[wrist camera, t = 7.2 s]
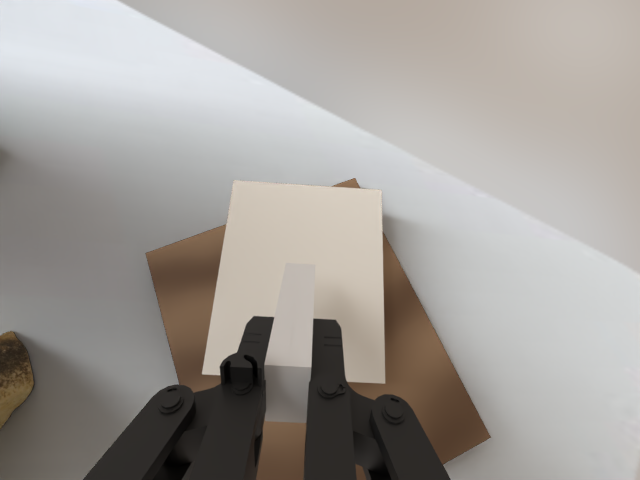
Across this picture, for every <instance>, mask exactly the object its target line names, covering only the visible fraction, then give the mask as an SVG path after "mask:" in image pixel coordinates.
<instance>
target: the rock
mask: <svg viewBox="0 0 640 480" xmlns="http://www.w3.org/2000/svg"><path fill="white" fill-rule="evenodd" d="M33 385H34V381H33V373H32V369H31V365H30V361H29V356H28V353H27V350H26V349H25V347H24V345H23V344H22V343H21V342H20V341H19V340H18V339H17V338H16V336H15V334H14V332H13V331H10V332H6V333H4V334H2V335H1V336H0V429H1V428H2V426H3V425H4V423H5V422H6V421H7V419H8V418H9V417H10V416H11V414H12V412H13V411H14V409H16V408H17V407H19V406H20V405H21V404H22V403H23V402H24V401H25V400H26V398H27V397H28V395H29V394H30V392H31V390H32V388H33Z"/></svg>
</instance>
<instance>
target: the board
mask: <svg viewBox="0 0 640 480" xmlns="http://www.w3.org/2000/svg"><path fill="white" fill-rule="evenodd" d="M331 187H345V188H360V187H359V185H358V183H357V181H356V179H355V178H353V179H351V180H348V181H345V182H342V183H339V184H337V185H334V186H331ZM225 230H226V225H223V226H220V227H217V228H214V229H212V230H209V231H206V232H203V233H201V234H198V235H195V236H192V237H189V238H187V239H184V240H181V241H178V242H175V243H173V244H170V245H167V246H164V247H162V248H159V249H156V250H153V251H150V252H148V253H146V257H147V261H148V265H149V268H150V272H151V276H152V280H153V284H154V288H155V292H156V296H157V299H158V303H159V307H160V311H161V315H162V319H163V323H164V327H165V330H166V334H167V338H168V342H169V346H170V350H171V354H172V357H173V361H174V365H175V369H176V373H177V377H178V381H179V385H185V386H187V387H189V388H191V390H192V391H193V393H194V392H198V391H202V390H207V389H210V388H213V387H215V386H217V385H219V384H221V376H220V375H205V374H202V370H203V364H204V358H205V352H206V346H207V340H208V333H209V327H210V321H211V315H212V309H213V303H214V297H215V291H216V285H217V278H218V272H219V266H220V260H221V254H222V248H223V242H224V236H225ZM382 236H383V288H384V341H385V384H381V383H362V382H347V383H348V385H349V386H350V387H351V388H352V389H353V390H354V391H355V392H357V393H358V394H360V395H362V396H364V397H367V398H370V399H373V400H375V399H376V398H377V397H379V396H381V395H384V394H393V395H395V396H398V397H401V398H402V399H403V400H405V401H406V402H407V403H408V404H409V405H410V407H411V408H412V409H413V411H414V413H415V415H416V417H417V418H418V420H419V422H420V424H421V426H422V428H423V430H424V431H425V433H426V435H427V437H428V439H429V441H430V443H431V444H432V446H433V448H434V450H435V452H436V454H437V455H438V457H439V459H440V461H441V463H442V465H443V464H445V463H446V462H448V461H450V460H452V459H453V458H455V457H457V456H459V455H461V454H462V453H464V452H466V451H468V450H469V449H471V448H473V447H475V446H477V445H478V444H480V443H482V442H484V441H486V440H487V439H489V438H491V437H490V435H489V433H488V431H487V429H486V427H485V425H484V424H483V422H482V420H481V418H480V416H479V414H478V412H477V410H476V408H475V406H474V404H473V403H472V401H471V399H470V397H469V395H468V393H467V391H466V389H465V387H464V385H463V383H462V382H461V380H460V378H459V376H458V374H457V372H456V370H455V368H454V366H453V364H452V362H451V361H450V359H449V357H448V355H447V353H446V351H445V349H444V347H443V345H442V343H441V341H440V340H439V338H438V336H437V334H436V332H435V330H434V328H433V326H432V324H431V322H430V320H429V318H428V317H427V315H426V313H425V311H424V309H423V307H422V305H421V303H420V301H419V299H418V297H417V296H416V294H415V292H414V290H413V288H412V286H411V284H410V282H409V280H408V278H407V276H406V275H405V273H404V271H403V269H402V267H401V265H400V263H399V261H398V259H397V257H396V255H395V254H394V252H393V250H392V248H391V246H390V244H389V242H388V240H387V238H386V236H385V234H384V233H383V231H382ZM305 437H306V423H293V422H273V421H265V419H264V424H263V441H262V447H261V453H260V459H259V465H258V471H257V477H256V480H303V475H304V456H305V453H304V451H305ZM355 465H356V476H357V480H366V477H365V474H364V471H363V467H362V466H359V465H357V464H355Z"/></svg>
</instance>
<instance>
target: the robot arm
mask: <svg viewBox="0 0 640 480" xmlns="http://www.w3.org/2000/svg"><path fill="white" fill-rule="evenodd" d="M314 286H315V265H313V264H296V263H286V265H285V269H284V274H283V279H282V284H281V288H280V293H279V298H278V302H277V307H276V312H275V317H264V316H253V317H252V318H251V319H250V321H249V322H248V323H247V324H246V326H245V330H244V333H243V336H242V339H241V343H240V345H239V348H238V351H237V353H234V354H232V355H229V356H228V357H227V358H225V359H224V360H223V361H222V363H221V365H220V376H221V384H219V385H217V386H215V387H213V388H210V389H207V390H202V391H198V392H194V393H193V391H192V390H191V388H189V387H187V386H185V385H172V386H168V387H166V388H164V389H162V390H160V391H159V392H158V393H157V394H156V395H154V396H153V397H152V398H151V400H150V401H149V402H148V403H147V404H146V406H145V407H144V408H143V409H142V410H141V411H140V413H139V414H138V415H137V416H136V417H135V419H134V420H133V421H132V422H131V423H130V424H129V426H128V427H127V428H126V429H125V430H124V432H123V433H122V434H121V435H120V436H119V437H118V439H117V440H116V441H115V442H114V443H113V445H112V446H111V447H110V448H109V449H108V450H107V452H106V453H105V454H104V455H103V456H102V458H101V459H100V460H99V461H98V462H97V464H96V465H95V466H94V467H93V468H92V469H91V471H90V472H89V473H88V474H87V475H86V477H85V478H84V479H83V480H256V477H257V471H258V465H259V459H260V453H261V447H262V441H263V424H264V419H265V421H273V422H293V423H306V437H305V451H304V453H305V456H304V475H303V480H357V476H356V465H355V464H357V465H359V466H362V467H363V471H364V474H365V477H366V480H450V478H449V476H448V474H447V472H446V470H445V468H444V467H443V465H442V463H441V461H440V459H439V457H438V455H437V454H436V452H435V450H434V448H433V446H432V444H431V443H430V441H429V439H428V437H427V435H426V433H425V431H424V430H423V428H422V426H421V424H420V422H419V420H418V418H417V417H416V415H415V413H414V411H413V409H412V408H411V407H410V405H409V404H408V403H407V402H406V401H405V400H403V399H402V398H401V397H398V396H395V395H393V394H384V395H381V396H379V397H377V398H376V399H375V400H373V399H370V398H367V397H364V396H362V395H360V394H358V393H357V392H355V391H354V390H353V389H352V388H351V387H350V386H349V385H348V383H347V381H346V377H345V367H344V355H343V342H342V330H341V327H340V325H339V324H338V322H337V321H336V320H332V319H314V318H313V312H314Z"/></svg>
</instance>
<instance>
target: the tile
mask: <svg viewBox="0 0 640 480" xmlns="http://www.w3.org/2000/svg"><path fill="white" fill-rule="evenodd" d="M286 263H296V264H313V265H315V286H314V312H313V318H314V319H332V320H336V321H337V322H338V324H339V325H340V327H341V330H342V342H343V355H344V367H345V377H346V381H347V382H362V383H381V384H385V341H384V288H383V236H382V190H376V189H360V188H345V187H329V186H314V185H299V184H283V183H268V182H252V181H237V180H234V181H233V187H232V193H231V199H230V205H229V211H228V217H227V224H226V230H225V236H224V242H223V248H222V254H221V260H220V266H219V272H218V278H217V285H216V291H215V297H214V303H213V309H212V315H211V321H210V327H209V333H208V340H207V346H206V352H205V358H204V364H203V370H202V374H205V375H220V365H221V363H222V361H223V360H224V359H225V358H227V357H228V356H229V355H232V354H234V353H237V351H238V348H239V345H240V343H241V339H242V336H243V333H244V330H245V326H246V324H247V323H248V322H249V321H250V319H251V318H252V317H253V316H264V317H275V312H276V307H277V302H278V298H279V293H280V288H281V284H282V279H283V274H284V269H285V265H286Z"/></svg>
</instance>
